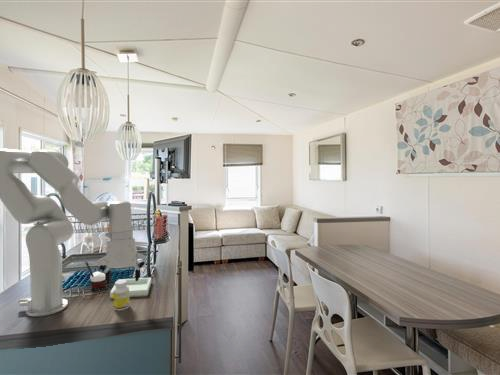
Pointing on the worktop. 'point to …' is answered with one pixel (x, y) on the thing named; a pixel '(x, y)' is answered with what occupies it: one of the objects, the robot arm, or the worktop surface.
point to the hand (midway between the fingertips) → (123, 281)
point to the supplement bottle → (121, 295)
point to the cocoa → (96, 278)
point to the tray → (136, 287)
